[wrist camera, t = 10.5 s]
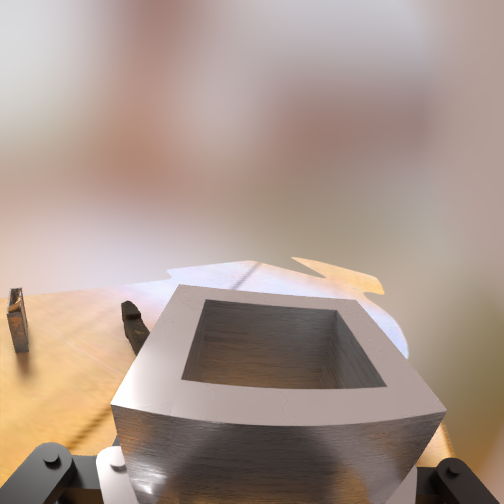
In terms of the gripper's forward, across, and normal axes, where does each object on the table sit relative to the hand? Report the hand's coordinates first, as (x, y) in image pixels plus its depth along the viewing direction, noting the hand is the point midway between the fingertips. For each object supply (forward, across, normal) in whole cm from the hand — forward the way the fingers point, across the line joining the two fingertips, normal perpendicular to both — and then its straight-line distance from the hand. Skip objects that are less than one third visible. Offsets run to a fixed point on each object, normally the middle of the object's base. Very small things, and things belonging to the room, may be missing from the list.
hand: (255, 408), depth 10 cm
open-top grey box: (-2, 0, +6) cm, 6 cm away
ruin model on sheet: (+30, +39, +21) cm, 54 cm away
